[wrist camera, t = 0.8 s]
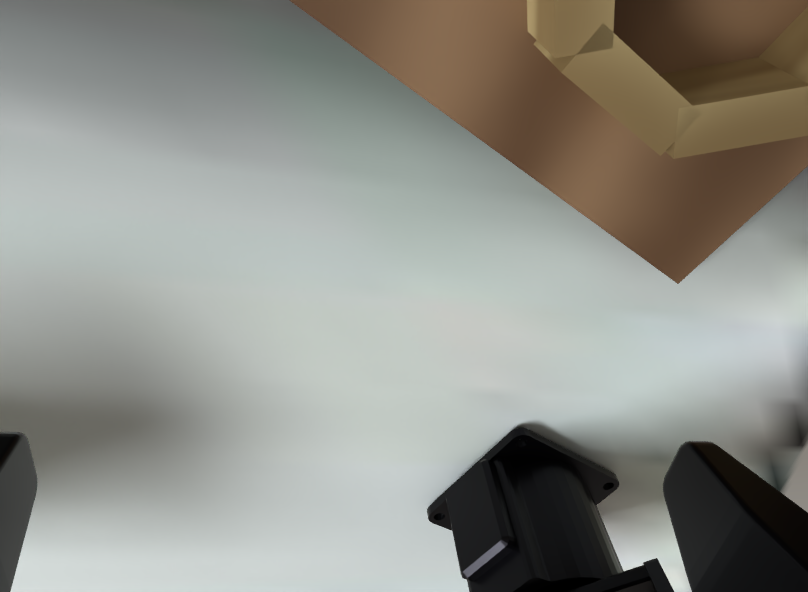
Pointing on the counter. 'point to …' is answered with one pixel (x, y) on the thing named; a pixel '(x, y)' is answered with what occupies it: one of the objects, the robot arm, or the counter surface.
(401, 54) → the ring board
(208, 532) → the counter surface
